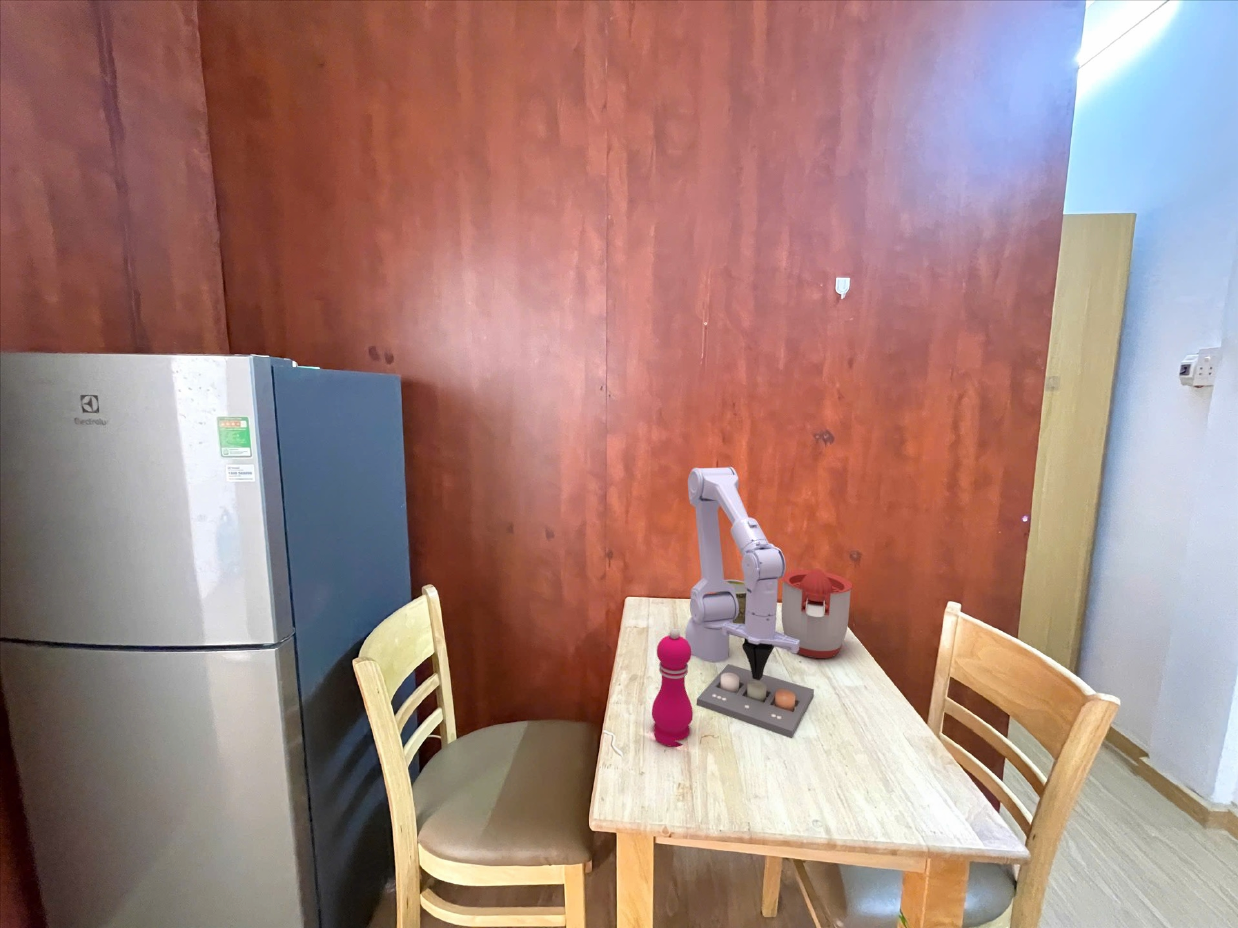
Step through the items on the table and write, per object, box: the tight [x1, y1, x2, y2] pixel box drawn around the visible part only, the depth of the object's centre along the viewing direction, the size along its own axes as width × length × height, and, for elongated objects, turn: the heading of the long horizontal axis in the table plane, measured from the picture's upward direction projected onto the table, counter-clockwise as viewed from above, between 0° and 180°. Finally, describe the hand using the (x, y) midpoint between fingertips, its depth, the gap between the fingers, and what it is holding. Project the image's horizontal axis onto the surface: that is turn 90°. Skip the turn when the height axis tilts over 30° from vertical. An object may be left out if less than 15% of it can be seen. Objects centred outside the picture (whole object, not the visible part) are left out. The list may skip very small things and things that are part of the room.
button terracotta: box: [774, 689, 796, 712], centre depth 103 cm, size 4×4×3 cm
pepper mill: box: [651, 628, 694, 748], centre depth 95 cm, size 7×7×20 cm
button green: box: [746, 681, 767, 703], centre depth 105 cm, size 4×4×3 cm
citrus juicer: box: [781, 567, 853, 659], centre depth 128 cm, size 16×17×20 cm
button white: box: [720, 673, 740, 694], centre depth 108 cm, size 4×4×3 cm
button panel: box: [696, 663, 815, 739], centre depth 106 cm, size 18×16×3 cm
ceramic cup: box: [715, 579, 747, 624], centre depth 143 cm, size 13×10×10 cm
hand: (757, 677), depth 105 cm, fingers closed
